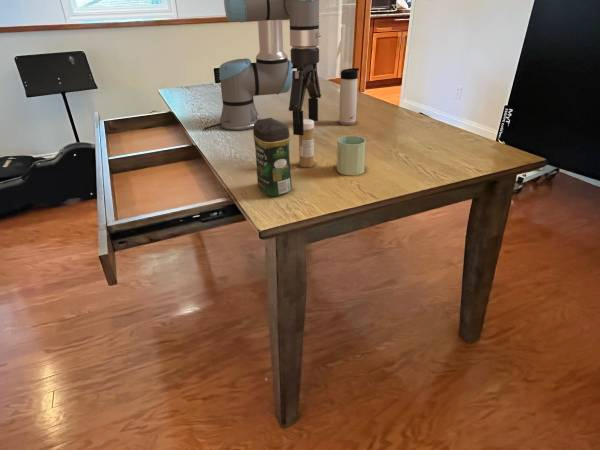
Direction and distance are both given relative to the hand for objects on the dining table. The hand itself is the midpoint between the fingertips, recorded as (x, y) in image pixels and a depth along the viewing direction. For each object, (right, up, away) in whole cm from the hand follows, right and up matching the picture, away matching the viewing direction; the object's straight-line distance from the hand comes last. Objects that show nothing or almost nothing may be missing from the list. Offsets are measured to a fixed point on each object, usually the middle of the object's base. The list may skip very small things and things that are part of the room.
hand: (306, 127), depth 118 cm
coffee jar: (-9, -19, -8) cm, 22 cm away
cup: (+13, -12, +2) cm, 18 cm away
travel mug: (+17, +11, +41) cm, 46 cm away
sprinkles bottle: (0, -10, +6) cm, 12 cm away
